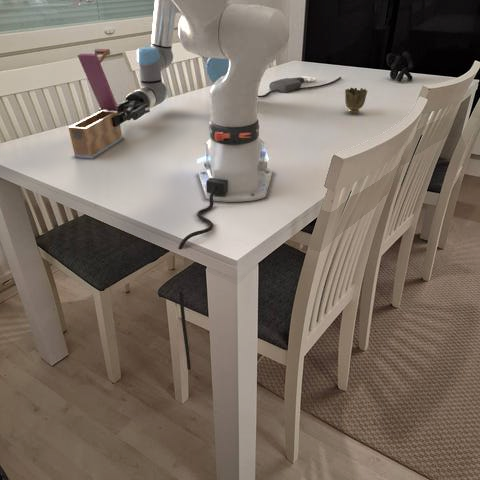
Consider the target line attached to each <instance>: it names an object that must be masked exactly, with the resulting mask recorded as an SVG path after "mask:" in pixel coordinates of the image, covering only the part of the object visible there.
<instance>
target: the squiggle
mask: <svg viewBox="0 0 480 480" xmlns="http://www.w3.org/2000/svg"><path fill="white" fill-rule="evenodd" d="M401 57H402V59H401ZM391 59H392V60H391ZM393 60H394V61H393ZM385 61H386V64H387V67H390V68H391V70H390V72H389V78H390V79H391V80H395V79H396V81H397V82H399V83H400V82H402V81H403V79H404V76H406V78H407V80H408V81H412V80H413V79H414V77H413V75H412V74H411V73H410V72H409V71H410V70H412V69H413V68H414V64H413V61H412V57H411V54H410V53H409V52H408V51H403V53H402V54H401V55H396V54H394V53H392V52H390V53H387V55H386V57H385ZM406 62H407V65H408V66H407V67H405V66H404V65H405V64H406ZM400 70H401V71H400Z"/></svg>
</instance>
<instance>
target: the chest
mask: <svg viewBox="0 0 480 480" xmlns="http://www.w3.org/2000/svg"><path fill="white" fill-rule="evenodd" d="M116 115H118V111H106V110H101V111H99V110H98V112H96V113H94V114H91V115H90V116H88V117H86V118H84V119H81V120H80V121H78V122H75V123H74V124H72V125H70V126H68V127H67V128H68V132H69V136H70V141H71V145H72V151H73V153H74V154H73V155H74V158H80V159H90V160H92V159H94V158H96V157H98V156H99V155H100V154H102V153H104V152H106V150H108V149H110V148H111V147H112V146H114V145H116V144H117V143H119V142H121V141H122V140H123V134H122V128H121V124H120V125H118V126H116V127H113V122H112V118H113V117H114V116H116Z"/></svg>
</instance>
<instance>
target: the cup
mask: <svg viewBox="0 0 480 480" xmlns="http://www.w3.org/2000/svg"><path fill="white" fill-rule="evenodd" d="M367 94H368V90H367V88H363V87H361V88H360V89H358V88H357V87H355V88H354V87H350V88H346V89H345V90H344V95H345V96H344V97H345V99H344V100H345V101H344V102H345V105H346V108H347V109H348V113H349V114H352V115H356V114H359V113H360V109H362V107H364V105H365V102H366V99H367V98H366V97H367Z"/></svg>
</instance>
